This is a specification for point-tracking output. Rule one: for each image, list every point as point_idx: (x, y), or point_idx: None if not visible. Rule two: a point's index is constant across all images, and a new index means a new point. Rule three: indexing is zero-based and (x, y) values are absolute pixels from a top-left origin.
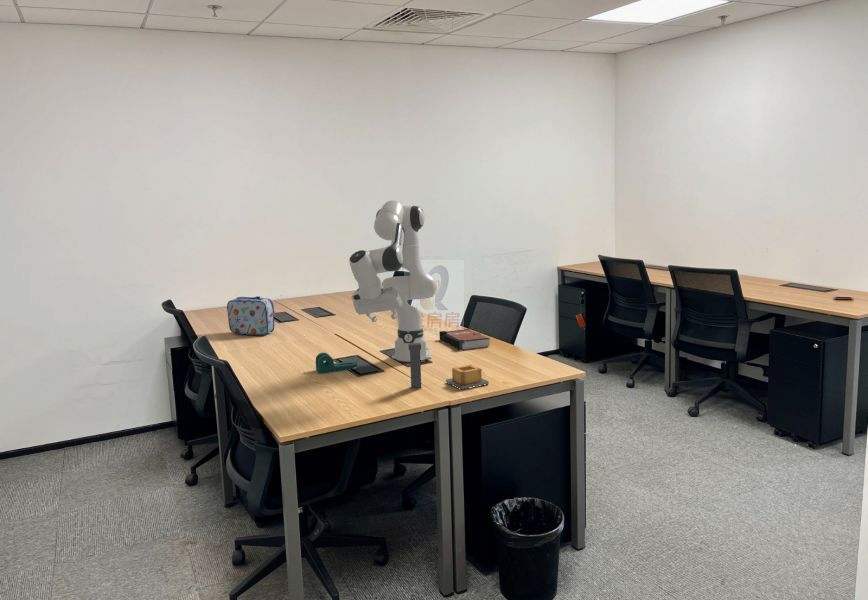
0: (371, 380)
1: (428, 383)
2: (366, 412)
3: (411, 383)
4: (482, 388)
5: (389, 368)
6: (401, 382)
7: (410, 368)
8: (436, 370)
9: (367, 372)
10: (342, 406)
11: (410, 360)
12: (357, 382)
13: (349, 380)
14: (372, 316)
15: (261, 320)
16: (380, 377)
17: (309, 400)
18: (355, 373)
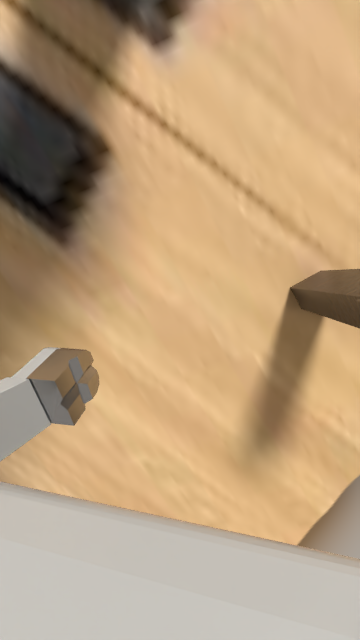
0: (128, 268)
1: (332, 229)
2: (270, 526)
3: (308, 310)
4: None
5: (106, 103)
6: (235, 252)
7: (317, 296)
8: (295, 50)
9: (62, 186)
10: (185, 503)
11: (351, 325)
12: (99, 303)
13: (63, 293)
14: (24, 403)
15: None
16: (138, 225)
17: (76, 486)
18: (33, 213)
